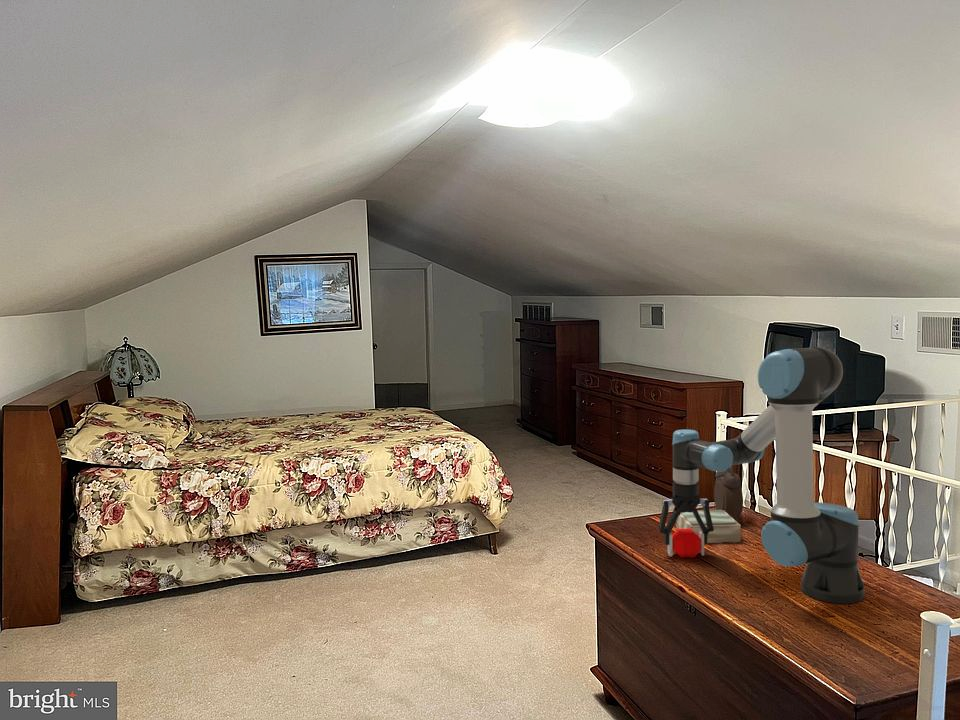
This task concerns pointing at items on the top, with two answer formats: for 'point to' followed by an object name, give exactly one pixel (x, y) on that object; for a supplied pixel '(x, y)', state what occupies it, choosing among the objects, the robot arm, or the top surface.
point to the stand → (722, 524)
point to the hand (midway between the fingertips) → (685, 554)
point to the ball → (686, 543)
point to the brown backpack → (728, 493)
